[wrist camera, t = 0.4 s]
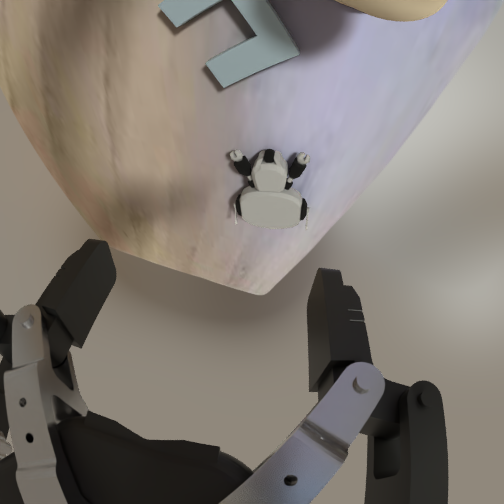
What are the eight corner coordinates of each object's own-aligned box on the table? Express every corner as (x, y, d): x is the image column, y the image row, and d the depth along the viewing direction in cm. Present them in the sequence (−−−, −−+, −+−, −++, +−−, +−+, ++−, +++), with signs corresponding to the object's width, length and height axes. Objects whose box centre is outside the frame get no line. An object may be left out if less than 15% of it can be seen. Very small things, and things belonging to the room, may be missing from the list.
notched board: (165, 3, 20) (157, 5, 19) (237, -41, 15) (232, -42, 14) (227, 82, 30) (223, 88, 28) (299, 50, 25) (299, 54, 23)
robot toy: (230, 139, 38) (240, 211, 50) (222, 155, 36) (234, 229, 48) (313, 143, 37) (307, 216, 48) (314, 159, 34) (306, 235, 46)
